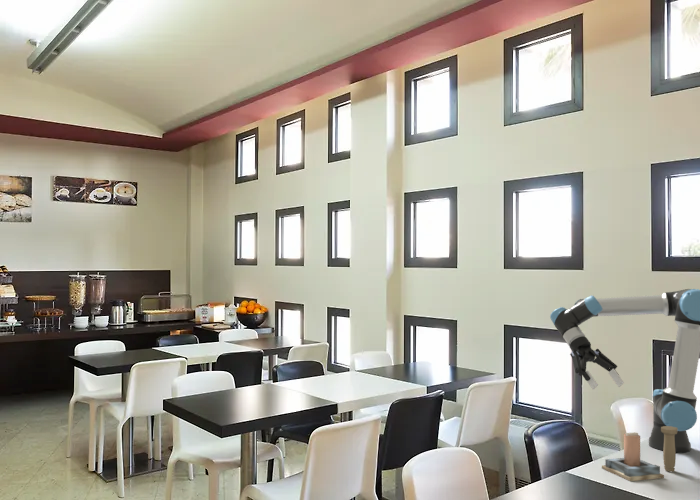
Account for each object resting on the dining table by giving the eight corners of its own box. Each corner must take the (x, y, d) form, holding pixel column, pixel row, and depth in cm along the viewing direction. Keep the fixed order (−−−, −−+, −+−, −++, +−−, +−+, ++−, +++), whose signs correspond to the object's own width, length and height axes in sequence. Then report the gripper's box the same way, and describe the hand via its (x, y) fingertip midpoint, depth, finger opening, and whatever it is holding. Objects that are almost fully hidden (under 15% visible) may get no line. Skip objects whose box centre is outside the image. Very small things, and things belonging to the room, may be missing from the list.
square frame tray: (634, 465, 221) (634, 455, 221) (664, 477, 208) (664, 467, 208) (601, 468, 217) (601, 458, 217) (630, 481, 204) (629, 470, 204)
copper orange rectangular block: (632, 467, 216) (632, 430, 216) (643, 471, 211) (643, 434, 211) (620, 468, 214) (620, 431, 215) (631, 472, 209) (631, 435, 210)
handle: (680, 470, 216) (680, 428, 216) (672, 474, 212) (672, 430, 212) (666, 467, 220) (666, 425, 220) (658, 470, 216) (658, 427, 216)
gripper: (594, 346, 249) (625, 389, 235) (548, 348, 238) (578, 394, 224) (605, 334, 245) (637, 377, 230) (558, 336, 234) (589, 382, 219)
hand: (608, 386), depth 227 cm, fingers open, 13 cm apart
